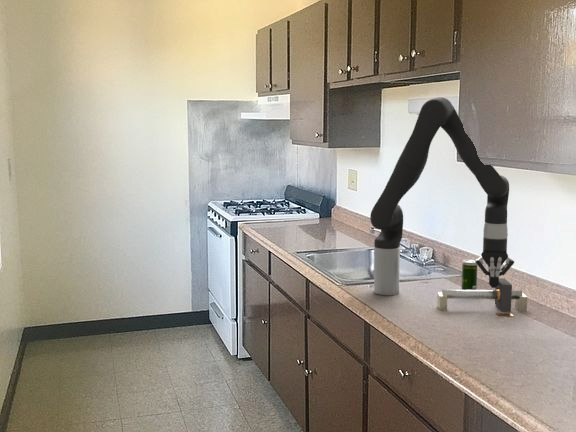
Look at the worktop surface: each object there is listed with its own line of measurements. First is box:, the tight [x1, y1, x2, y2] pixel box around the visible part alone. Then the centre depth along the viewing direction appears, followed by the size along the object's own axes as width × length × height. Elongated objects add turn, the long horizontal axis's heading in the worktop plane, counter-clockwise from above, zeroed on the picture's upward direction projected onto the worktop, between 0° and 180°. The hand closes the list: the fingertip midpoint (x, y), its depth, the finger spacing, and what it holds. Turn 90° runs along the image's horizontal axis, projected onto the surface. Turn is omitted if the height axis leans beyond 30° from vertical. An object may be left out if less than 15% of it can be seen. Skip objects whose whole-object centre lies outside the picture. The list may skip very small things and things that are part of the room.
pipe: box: [436, 289, 528, 318], centre depth 214 cm, size 28×11×7 cm, turn 86°
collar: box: [494, 277, 513, 313], centre depth 216 cm, size 3×9×9 cm, turn 176°
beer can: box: [461, 259, 478, 290], centre depth 236 cm, size 5×5×12 cm
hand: (493, 287), depth 216 cm, fingers closed
